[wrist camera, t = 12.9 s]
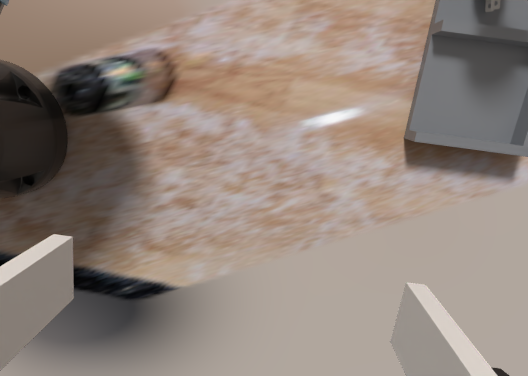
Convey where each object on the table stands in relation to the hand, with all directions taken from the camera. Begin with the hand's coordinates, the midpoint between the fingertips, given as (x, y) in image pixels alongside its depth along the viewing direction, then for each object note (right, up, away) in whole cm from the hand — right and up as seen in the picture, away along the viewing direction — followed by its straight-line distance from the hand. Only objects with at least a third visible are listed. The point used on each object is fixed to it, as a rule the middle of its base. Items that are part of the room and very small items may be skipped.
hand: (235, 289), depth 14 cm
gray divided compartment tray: (+24, +19, +22) cm, 38 cm away
